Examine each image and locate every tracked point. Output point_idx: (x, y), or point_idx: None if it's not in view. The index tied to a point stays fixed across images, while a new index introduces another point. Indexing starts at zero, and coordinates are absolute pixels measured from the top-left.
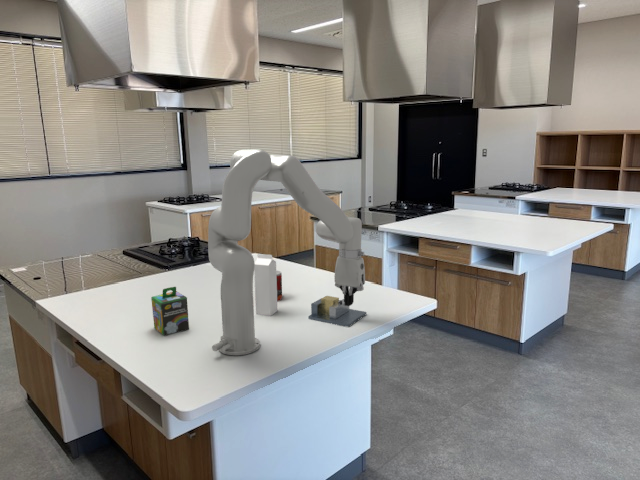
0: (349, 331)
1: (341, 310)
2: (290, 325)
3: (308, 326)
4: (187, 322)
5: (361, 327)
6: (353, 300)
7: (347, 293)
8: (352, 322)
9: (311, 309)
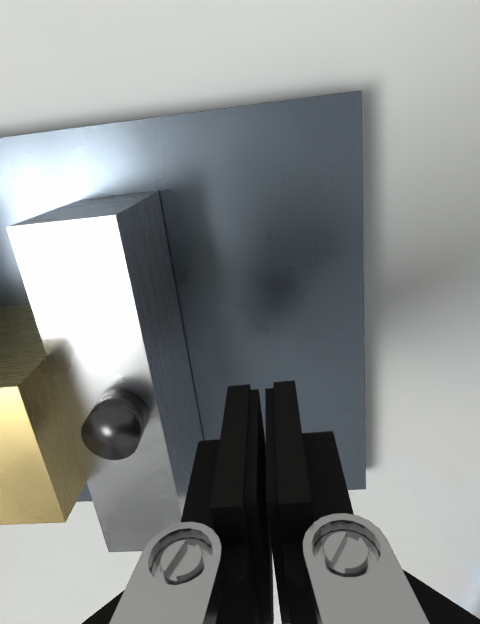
0: (411, 524)
1: (178, 390)
2: (13, 612)
3: (111, 579)
4: None
5: (464, 424)
6: (336, 446)
7: (255, 615)
8: (363, 418)
9: None
